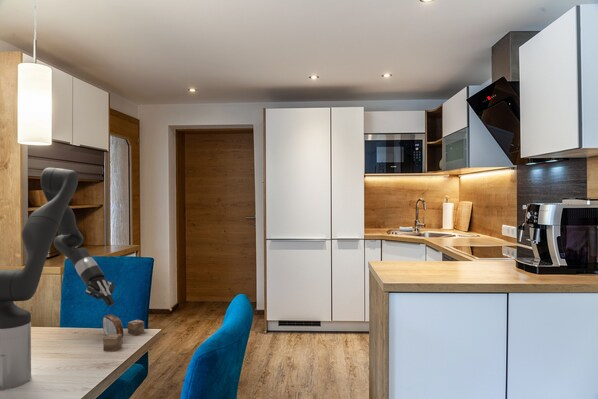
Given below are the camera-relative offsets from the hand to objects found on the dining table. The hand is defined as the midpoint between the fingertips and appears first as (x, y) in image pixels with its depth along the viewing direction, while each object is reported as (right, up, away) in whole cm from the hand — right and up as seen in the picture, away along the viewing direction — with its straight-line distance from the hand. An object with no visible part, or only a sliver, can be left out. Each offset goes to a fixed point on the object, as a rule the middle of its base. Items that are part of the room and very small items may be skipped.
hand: (111, 304), depth 156 cm
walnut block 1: (+5, -13, -11) cm, 18 cm away
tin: (0, -13, 0) cm, 13 cm away
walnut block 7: (+7, -13, +6) cm, 16 cm away
